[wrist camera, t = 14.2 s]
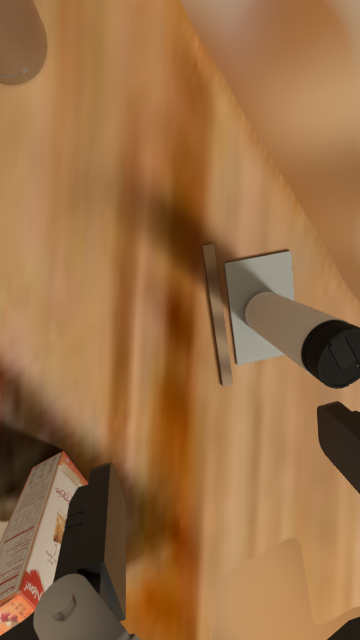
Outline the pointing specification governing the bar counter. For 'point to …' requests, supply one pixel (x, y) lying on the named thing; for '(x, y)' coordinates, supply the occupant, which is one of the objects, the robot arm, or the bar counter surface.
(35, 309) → the bar counter surface
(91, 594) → the robot arm
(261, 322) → the travel mug
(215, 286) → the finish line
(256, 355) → the mat
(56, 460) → the cracker box
